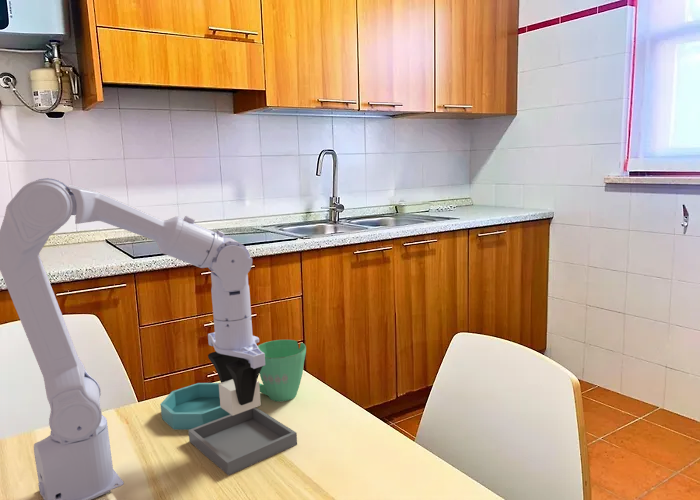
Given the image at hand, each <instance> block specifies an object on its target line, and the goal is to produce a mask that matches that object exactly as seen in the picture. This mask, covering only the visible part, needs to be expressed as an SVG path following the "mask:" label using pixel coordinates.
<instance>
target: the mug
mask: <svg viewBox="0 0 700 500" xmlns="http://www.w3.org/2000/svg"><path fill="white" fill-rule="evenodd" d="M257 346H258V348H259V349H260V350H261V351H262V352H263V353H265V365H264V366H263V367H262V369H261V371H260V373H259V377H260V380H261V382H262V383H261V382H259V386H260V394H263V395H265V396H267V397H268V398H269V399H270V400H271V401H273V402H278V403H279V402H289V401H291V400H293V399H295V398H296V396H297V395H298V392H299V388H300V384H301V381H302V377H303V375H304V374H303V371H304V366H305V359H306V355H307V354H306V353H307V346H306V344H305V343H303V342H300V346H299V342H298V340H295V339H276V340H275V339H274V340H271V341H266V342H263V343H260V344H258V345H257Z"/></svg>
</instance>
